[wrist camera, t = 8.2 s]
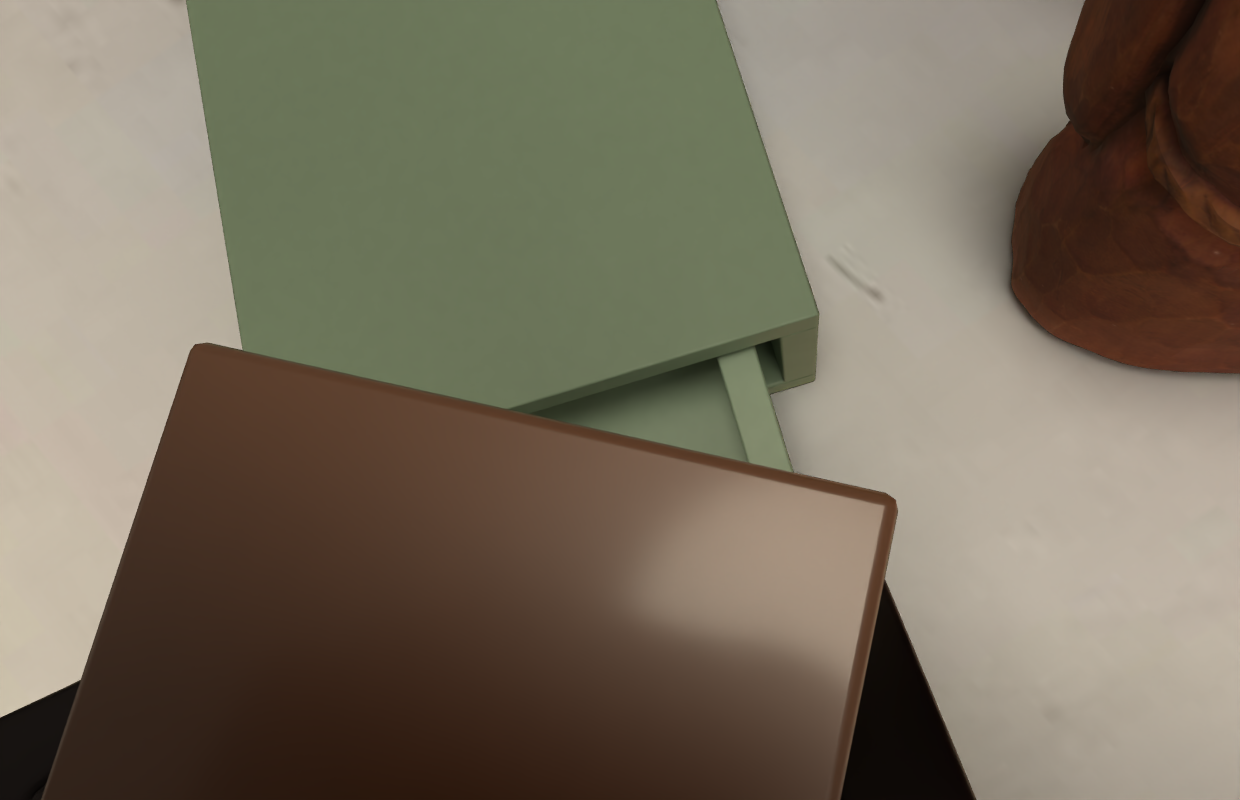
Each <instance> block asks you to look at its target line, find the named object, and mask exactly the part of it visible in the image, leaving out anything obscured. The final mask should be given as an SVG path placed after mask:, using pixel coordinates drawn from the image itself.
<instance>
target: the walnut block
mask: <svg viewBox="0 0 1240 800" xmlns="http://www.w3.org/2000/svg"><path fill="white" fill-rule="evenodd" d="M897 514H898V509H897V504H896V500H895V499H894V498H892V497H891V496H889V495H888V494H886V493H884V492H879V491H875V490H870V489H866V488H861V487H857V486H852V485H848V484H843V483H839V482H834V481H830V480H825V479H821V478H816V477H812V476H807V475H803V474H798V473H794V472H789V471H785V470H780V469H776V468H771V467H766V466H762V465H757V464H753V463H748V462H744V461H739V460H735V459H730V458H726V457H721V456H717V455H712V454H708V453H703V452H699V451H694V450H690V449H685V448H681V447H676V446H672V445H667V444H663V443H658V442H654V441H649V440H645V439H640V438H636V437H631V436H627V435H622V434H618V433H613V432H609V431H604V430H599V429H595V428H590V427H586V426H581V425H577V424H572V423H568V422H563V421H559V420H554V419H550V418H545V417H541V416H536V415H532V414H527V413H523V412H518V411H514V410H509V409H505V408H500V407H496V406H491V405H487V404H482V403H478V402H473V401H469V400H464V399H460V398H455V397H451V396H446V395H442V394H437V393H432V392H428V391H423V390H419V389H414V388H410V387H405V386H401V385H396V384H392V383H387V382H383V381H378V380H374V379H369V378H365V377H360V376H356V375H351V374H347V373H342V372H338V371H333V370H329V369H324V368H320V367H315V366H311V365H306V364H302V363H297V362H293V361H288V360H284V359H279V358H275V357H270V356H265V355H261V354H256V353H252V352H247V351H243V350H238V349H234V348H229V347H225V346H220V345H216V344H211V343H202V344H195V345H194V346H193V348H192V349H191V350H190V353H189V356H188V359H187V362H186V365H185V368H184V371H183V374H182V377H181V380H180V383H179V386H178V389H177V392H176V395H175V398H174V401H173V404H172V407H171V410H170V413H169V416H168V419H167V422H166V425H165V428H164V431H163V434H162V437H161V440H160V443H159V446H158V449H157V452H156V455H155V458H154V461H153V464H152V467H151V470H150V473H149V476H148V479H147V482H146V485H145V488H144V491H143V494H142V497H141V500H140V503H139V506H138V509H137V512H136V515H135V518H134V521H133V524H132V527H131V530H130V533H129V536H128V539H127V542H126V545H125V548H124V551H123V554H122V558H121V561H120V564H119V567H118V570H117V573H116V576H115V579H114V582H113V585H112V588H111V591H110V594H109V597H108V600H107V603H106V606H105V609H104V612H103V615H102V618H101V621H100V624H99V627H98V630H97V633H96V636H95V639H94V642H93V645H92V648H91V651H90V654H89V657H88V660H87V663H86V666H85V669H84V672H83V675H82V678H81V681H80V684H79V687H78V690H77V693H76V696H75V699H74V702H73V705H72V708H71V711H70V714H69V717H68V720H67V723H66V726H65V729H64V732H63V735H62V738H61V741H60V744H59V747H58V750H57V753H56V756H55V759H54V762H53V765H52V768H51V771H50V774H49V777H48V780H47V783H46V786H45V789H44V792H43V795H42V798H41V800H840V799H841V794H842V789H843V784H844V779H845V774H846V769H847V764H848V759H849V754H850V749H851V744H852V739H853V734H854V729H855V724H856V719H857V714H858V709H859V704H860V699H861V694H862V689H863V684H864V679H865V674H866V669H867V664H868V659H869V654H870V649H871V644H872V639H873V634H874V629H875V624H876V619H877V614H878V609H879V604H880V599H881V594H882V589H883V584H884V579H885V574H886V569H887V564H888V559H889V554H890V549H891V544H892V539H893V534H894V529H895V524H896V519H897Z"/></svg>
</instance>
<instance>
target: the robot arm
mask: <svg viewBox="0 0 1240 800" xmlns="http://www.w3.org/2000/svg"><path fill="white" fill-rule="evenodd" d="M80 681H81V680H79V681H77V682H75V683H73V684H71V685H69V686H67V687H65V688H63V689H61V690H59V691H57V692H54V693H52V694H50V695H48V696H46V697H44V698H42V699H39V700H37V701H35V702H33V703H31V704H29V705H27V706H24V707H22V708H20V709H18V710H16V711H14V712H12V713H9V714H7V715H5V716H3V717H1V718H0V800H41V798H42V795H43V792H44V789H45V786H46V783H47V780H48V777H49V774H50V771H51V768H52V765H53V762H54V759H55V756H56V753H57V750H58V747H59V744H60V741H61V738H62V735H63V732H64V729H65V726H66V723H67V720H68V717H69V714H70V711H71V708H72V705H73V702H74V699H75V696H76V693H77V690H78V687H79V684H80ZM840 800H976V797H975V795H974V793H973V790H972V788H971V785H970V783H969V780H968V778H967V776H966V773H965V771H964V768H963V766H962V764H961V761H960V759H959V756H958V754H957V752H956V749H955V747H954V744H953V742H952V739H951V737H950V735H949V732H948V730H947V727H946V725H945V723H944V720H943V718H942V715H941V713H940V711H939V708H938V706H937V703H936V701H935V698H934V696H933V694H932V691H931V689H930V686H929V684H928V682H927V679H926V677H925V674H924V672H923V670H922V667H921V665H920V662H919V660H918V657H917V655H916V653H915V650H914V648H913V645H912V643H911V641H910V638H909V636H908V633H907V631H906V629H905V626H904V624H903V621H902V619H901V616H900V614H899V612H898V609H897V607H896V604H895V602H894V600H893V597H892V595H891V592H890V590H889V587H888V585H887V583H886V581H885V579H884V584H883V589H882V594H881V599H880V604H879V609H878V614H877V619H876V624H875V629H874V634H873V639H872V644H871V649H870V654H869V659H868V664H867V669H866V674H865V679H864V684H863V689H862V694H861V699H860V704H859V709H858V714H857V719H856V724H855V729H854V734H853V739H852V744H851V749H850V754H849V759H848V764H847V769H846V774H845V779H844V784H843V789H842V794H841V799H840Z"/></svg>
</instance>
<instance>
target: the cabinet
mask: <svg viewBox="0 0 1240 800" xmlns="http://www.w3.org/2000/svg"><path fill="white" fill-rule="evenodd" d="M186 4H187V10H188V16H189V22H190V28H191V34H192V41H193V47H194V53H195V59H196V65H197V71H198V78H199V84H200V90H201V96H202V102H203V108H204V114H205V121H206V127H207V133H208V139H209V145H210V151H211V158H212V164H213V170H214V176H215V182H216V188H217V195H218V201H219V207H220V213H221V219H222V225H223V232H224V238H225V244H226V250H227V256H228V262H229V269H230V275H231V281H232V287H233V293H234V299H235V306H236V312H237V318H238V324H239V330H240V336H241V342H242V349H243V351H247V352H252V353H256V354H261V355H265V356H270V357H275V358H279V359H284V360H288V361H293V362H297V363H302V364H306V365H311V366H315V367H320V368H324V369H329V370H333V371H338V372H342V373H347V374H351V375H356V376H360V377H365V378H369V379H374V380H378V381H383V382H387V383H392V384H396V385H401V386H405V387H410V388H414V389H419V390H423V391H428V392H432V393H437V394H442V395H446V396H451V397H455V398H460V399H464V400H469V401H473V402H478V403H482V404H487V405H491V406H496V407H500V408H505V409H509V410H514V411H518V412H523V413H527V414H529V413H532V412H536V411H539V410H542V409H545V408H549V407H552V406H555V405H559V404H562V403H565V402H569V401H572V400H575V399H579V398H582V397H585V396H588V395H592V394H595V393H598V392H602V391H605V390H608V389H612V388H615V387H618V386H622V385H625V384H628V383H632V382H635V381H638V380H641V379H645V378H648V377H651V376H655V375H658V374H661V373H665V372H668V371H671V370H675V369H678V368H681V367H684V366H688V365H691V364H694V363H698V362H701V361H704V360H708V359H711V358H714V357H718V356H721V355H724V354H727V353H731V352H734V351H737V350H741V349H744V348H747V347H751V346H754V345H755V348H756V352H757V355H758V358H759V361H760V365H761V368H762V371H763V374H764V378H765V381H766V384H767V387H768V391H769V394H772V393H775V392H779V391H782V390H785V389H789V388H792V387H796V386H799V385H802V384H806V383H809V382H813V381H814V380H815V373H816V358H817V338H818V324H819V311H818V308H817V305H816V302H815V299H814V296H813V293H812V290H811V287H810V284H809V281H808V278H807V275H806V272H805V269H804V266H803V263H802V260H801V256H800V253H799V250H798V247H797V244H796V241H795V238H794V235H793V232H792V229H791V226H790V223H789V220H788V217H787V214H786V211H785V208H784V205H783V202H782V199H781V196H780V193H779V190H778V187H777V184H776V181H775V178H774V174H773V171H772V168H771V165H770V162H769V159H768V156H767V153H766V150H765V147H764V144H763V141H762V138H761V135H760V132H759V129H758V126H757V123H756V120H755V117H754V114H753V111H752V108H751V105H750V102H749V99H748V96H747V92H746V89H745V86H744V83H743V80H742V77H741V74H740V71H739V68H738V65H737V62H736V59H735V56H734V53H733V50H732V47H731V44H730V41H729V38H728V35H727V32H726V29H725V26H724V23H723V20H722V17H721V14H720V10H719V7H718V4H717V1H716V0H186Z"/></svg>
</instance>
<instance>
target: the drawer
mask: <svg viewBox="0 0 1240 800" xmlns="http://www.w3.org/2000/svg"><path fill="white" fill-rule="evenodd" d="M529 414H532V415H536V416H541V417H545V418H550V419H554V420H559V421H563V422H568V423H572V424H577V425H581V426H586V427H590V428H595V429H599V430H604V431H609V432H613V433H618V434H622V435H627V436H631V437H636V438H640V439H645V440H649V441H654V442H658V443H663V444H667V445H672V446H676V447H681V448H685V449H690V450H694V451H699V452H703V453H708V454H712V455H717V456H721V457H726V458H730V459H735V460H739V461H744V462H748V463H753V464H757V465H762V466H766V467H771V468H776V469H780V470H785V471H789V472H793V469H792V465H791V462H790V459H789V456H788V452H787V449H786V446H785V443H784V439H783V436H782V433H781V430H780V426H779V423H778V420H777V417H776V413H775V410H774V407H773V404H772V400H771V397H770V394H769V391H768V387H767V384H766V381H765V378H764V374H763V371H762V368H761V365H760V361H759V358H758V355H757V352H756V348H755V345H754V346H751V347H747V348H744V349H741V350H737V351H734V352H731V353H727V354H724V355H721V356H718V357H714V358H711V359H708V360H704V361H701V362H698V363H694V364H691V365H688V366H684V367H681V368H678V369H675V370H671V371H668V372H665V373H661V374H658V375H655V376H651V377H648V378H645V379H641V380H638V381H635V382H632V383H628V384H625V385H622V386H618V387H615V388H612V389H608V390H605V391H602V392H598V393H595V394H592V395H588V396H585V397H582V398H579V399H575V400H572V401H569V402H565V403H562V404H559V405H555V406H552V407H549V408H545V409H542V410H539V411H536V412H532V413H529Z"/></svg>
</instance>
